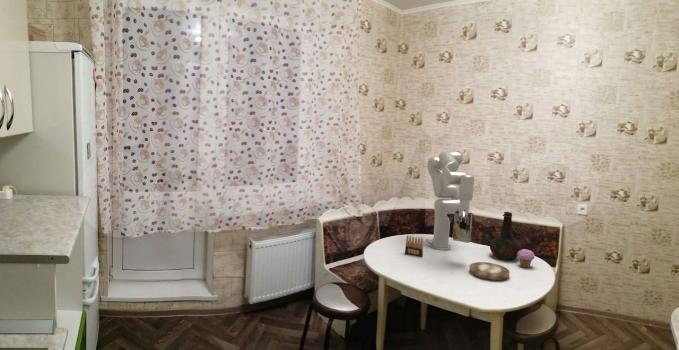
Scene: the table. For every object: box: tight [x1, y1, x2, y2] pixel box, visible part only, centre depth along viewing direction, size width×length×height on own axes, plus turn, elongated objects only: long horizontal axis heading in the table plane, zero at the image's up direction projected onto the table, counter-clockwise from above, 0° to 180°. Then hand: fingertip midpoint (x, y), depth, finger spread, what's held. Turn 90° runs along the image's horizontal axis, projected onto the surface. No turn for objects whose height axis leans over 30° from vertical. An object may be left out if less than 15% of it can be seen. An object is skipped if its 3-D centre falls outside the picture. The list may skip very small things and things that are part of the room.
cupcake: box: [517, 248, 535, 269], centre depth 227 cm, size 9×9×10 cm
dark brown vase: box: [489, 211, 522, 261], centre depth 240 cm, size 18×18×28 cm
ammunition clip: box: [404, 234, 424, 258], centre depth 239 cm, size 11×2×12 cm, turn 60°
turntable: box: [469, 261, 511, 281], centre depth 214 cm, size 20×20×2 cm
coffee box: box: [452, 211, 473, 244], centre depth 226 cm, size 9×6×16 cm
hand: (462, 226), depth 226 cm, fingers closed on coffee box, 7 cm apart
